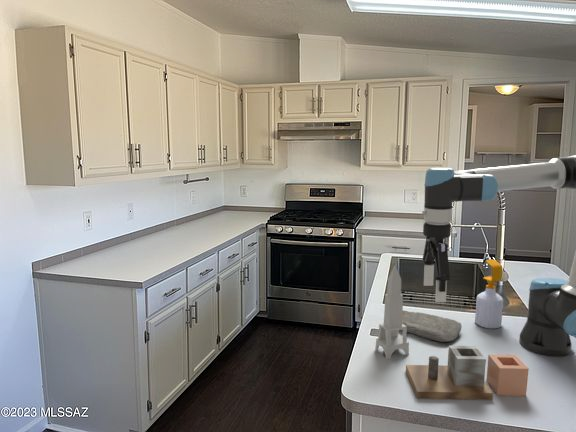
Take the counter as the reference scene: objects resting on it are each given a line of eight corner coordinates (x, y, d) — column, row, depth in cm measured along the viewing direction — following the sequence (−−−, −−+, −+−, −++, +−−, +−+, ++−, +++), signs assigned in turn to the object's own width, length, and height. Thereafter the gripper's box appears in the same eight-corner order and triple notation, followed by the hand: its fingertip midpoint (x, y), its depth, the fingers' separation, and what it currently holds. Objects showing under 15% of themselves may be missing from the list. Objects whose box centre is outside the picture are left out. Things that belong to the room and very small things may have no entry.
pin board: (473, 372, 131) (475, 341, 129) (492, 399, 117) (495, 365, 116) (405, 370, 132) (407, 340, 130) (417, 398, 118) (418, 364, 117)
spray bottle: (489, 317, 170) (494, 256, 166) (506, 327, 161) (512, 263, 157) (469, 320, 168) (474, 258, 163) (486, 330, 159) (491, 265, 155)
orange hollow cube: (513, 380, 127) (515, 354, 125) (526, 395, 119) (528, 368, 118) (486, 380, 127) (488, 354, 125) (497, 395, 119) (499, 368, 118)
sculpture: (375, 349, 146) (377, 262, 140) (396, 345, 149) (399, 259, 143) (386, 358, 139) (390, 268, 134) (408, 354, 142) (412, 265, 137)
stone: (464, 321, 157) (450, 336, 146) (464, 333, 158) (450, 348, 146) (398, 305, 173) (380, 317, 161) (397, 315, 174) (380, 328, 162)
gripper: (414, 214, 138) (412, 279, 141) (435, 231, 113) (432, 309, 117) (438, 214, 137) (435, 279, 141) (465, 231, 113) (460, 309, 116)
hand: (434, 293), depth 129 cm, fingers open, 13 cm apart
